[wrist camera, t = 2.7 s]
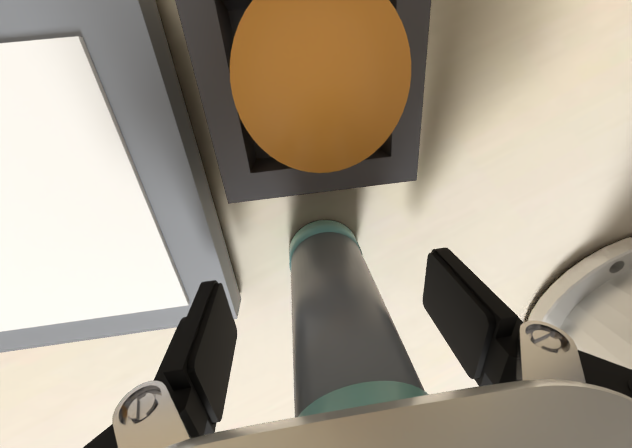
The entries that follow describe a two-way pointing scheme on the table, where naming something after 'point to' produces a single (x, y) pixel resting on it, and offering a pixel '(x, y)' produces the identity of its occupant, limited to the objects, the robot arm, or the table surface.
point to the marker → (342, 327)
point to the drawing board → (98, 177)
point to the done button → (320, 79)
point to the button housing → (247, 156)
